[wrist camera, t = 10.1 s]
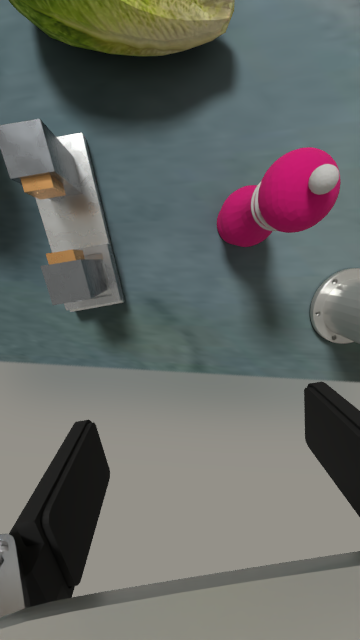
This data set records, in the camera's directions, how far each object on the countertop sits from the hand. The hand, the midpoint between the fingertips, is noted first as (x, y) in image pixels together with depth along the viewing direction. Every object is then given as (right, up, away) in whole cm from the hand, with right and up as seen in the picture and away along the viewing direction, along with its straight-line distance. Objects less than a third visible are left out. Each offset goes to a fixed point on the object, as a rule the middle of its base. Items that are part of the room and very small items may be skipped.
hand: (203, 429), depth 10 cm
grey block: (-14, +11, +23) cm, 29 cm away
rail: (-16, +18, +23) cm, 33 cm away
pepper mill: (+8, +19, +24) cm, 32 cm away
